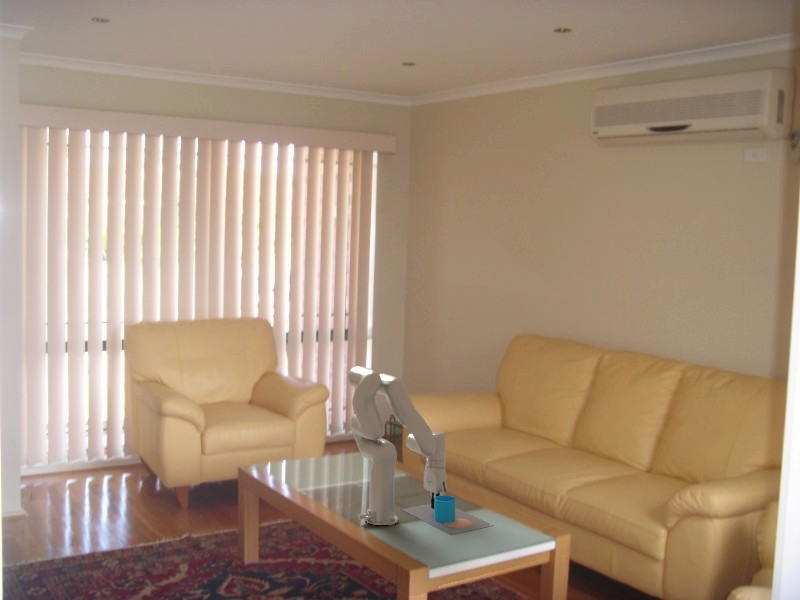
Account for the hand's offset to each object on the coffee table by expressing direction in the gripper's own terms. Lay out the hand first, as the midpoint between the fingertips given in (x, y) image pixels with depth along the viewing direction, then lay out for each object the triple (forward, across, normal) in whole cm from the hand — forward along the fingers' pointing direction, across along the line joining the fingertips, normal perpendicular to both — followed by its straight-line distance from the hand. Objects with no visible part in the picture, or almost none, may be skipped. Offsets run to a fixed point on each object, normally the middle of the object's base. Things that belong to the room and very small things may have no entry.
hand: (435, 507), depth 340 cm
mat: (+2, +8, 0) cm, 8 cm away
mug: (+2, +8, -2) cm, 8 cm away
